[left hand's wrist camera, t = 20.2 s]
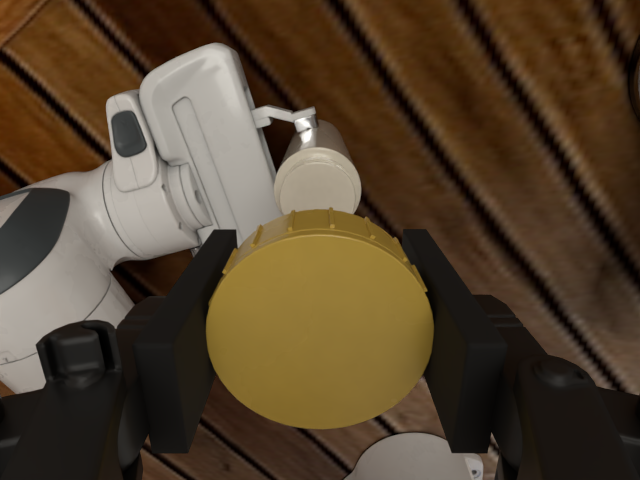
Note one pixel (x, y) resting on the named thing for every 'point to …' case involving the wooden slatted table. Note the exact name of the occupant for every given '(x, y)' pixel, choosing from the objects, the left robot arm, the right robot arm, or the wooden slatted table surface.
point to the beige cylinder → (317, 173)
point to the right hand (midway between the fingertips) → (327, 154)
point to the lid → (319, 321)
